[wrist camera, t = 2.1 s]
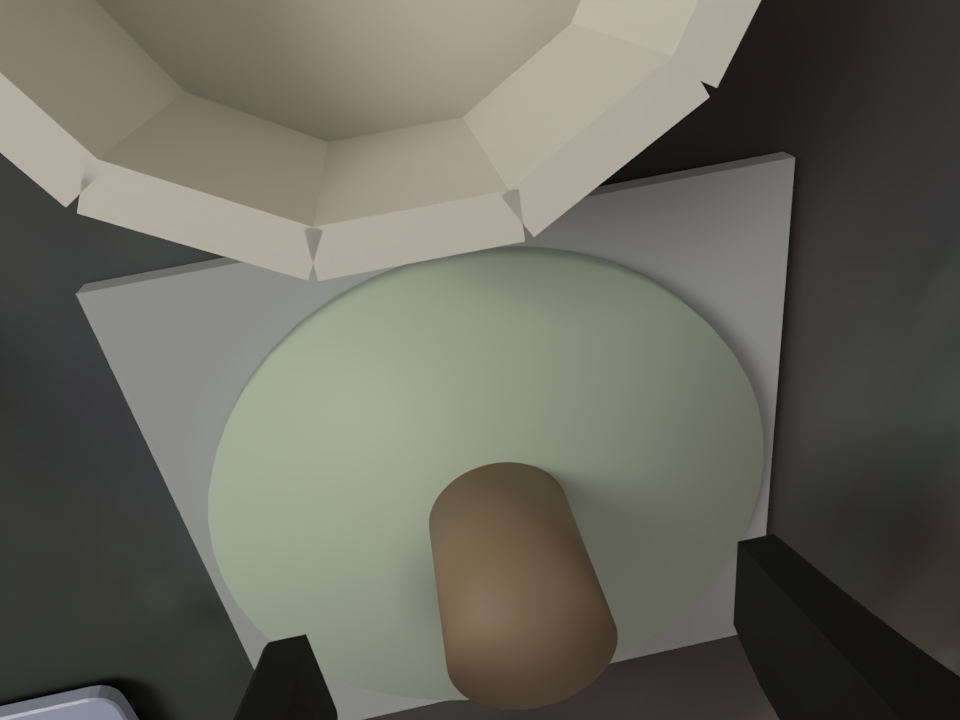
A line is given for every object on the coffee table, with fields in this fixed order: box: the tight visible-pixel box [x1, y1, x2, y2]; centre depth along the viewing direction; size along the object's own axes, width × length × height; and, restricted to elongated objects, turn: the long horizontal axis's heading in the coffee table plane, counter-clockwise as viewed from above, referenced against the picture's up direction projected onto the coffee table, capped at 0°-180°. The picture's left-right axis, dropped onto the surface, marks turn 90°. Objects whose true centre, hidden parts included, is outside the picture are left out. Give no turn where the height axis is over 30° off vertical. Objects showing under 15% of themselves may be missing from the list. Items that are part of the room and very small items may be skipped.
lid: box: [208, 246, 764, 710], centre depth 13 cm, size 11×11×4 cm
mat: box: [76, 152, 795, 720], centre depth 15 cm, size 12×12×1 cm
